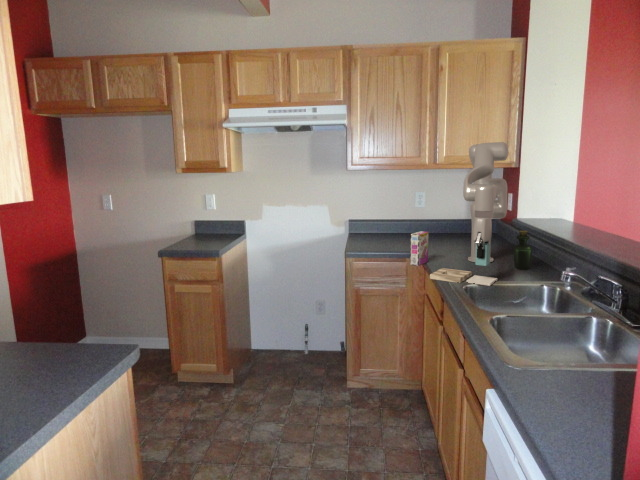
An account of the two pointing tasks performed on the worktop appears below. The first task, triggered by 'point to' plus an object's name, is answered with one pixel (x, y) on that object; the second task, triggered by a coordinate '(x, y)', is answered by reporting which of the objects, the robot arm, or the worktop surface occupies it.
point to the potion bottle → (522, 252)
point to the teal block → (487, 256)
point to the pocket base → (451, 275)
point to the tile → (482, 280)
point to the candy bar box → (419, 248)
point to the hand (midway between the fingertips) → (482, 256)
